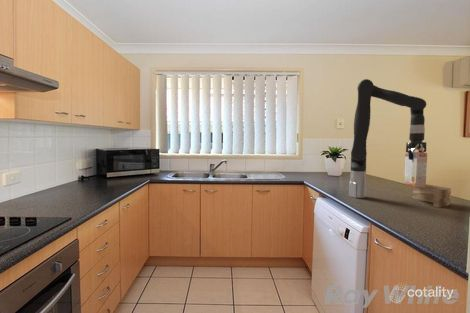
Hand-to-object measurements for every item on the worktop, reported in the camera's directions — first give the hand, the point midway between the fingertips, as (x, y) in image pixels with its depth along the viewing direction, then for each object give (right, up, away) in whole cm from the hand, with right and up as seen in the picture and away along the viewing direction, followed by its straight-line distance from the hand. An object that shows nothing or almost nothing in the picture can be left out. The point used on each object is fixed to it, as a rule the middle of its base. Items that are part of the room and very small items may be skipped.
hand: (415, 159), depth 166 cm
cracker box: (0, -16, +1) cm, 17 cm away
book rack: (+5, -26, -2) cm, 26 cm away
